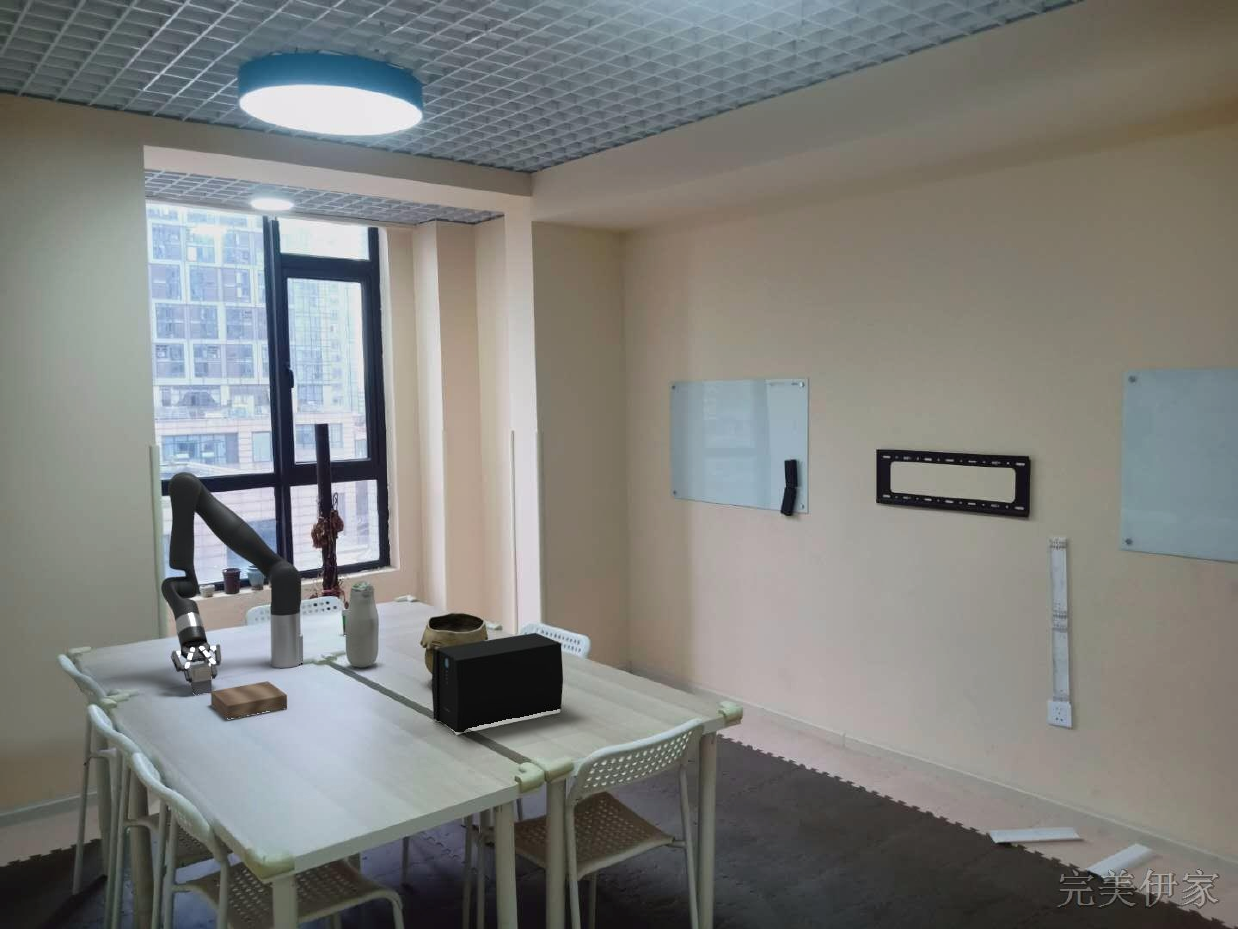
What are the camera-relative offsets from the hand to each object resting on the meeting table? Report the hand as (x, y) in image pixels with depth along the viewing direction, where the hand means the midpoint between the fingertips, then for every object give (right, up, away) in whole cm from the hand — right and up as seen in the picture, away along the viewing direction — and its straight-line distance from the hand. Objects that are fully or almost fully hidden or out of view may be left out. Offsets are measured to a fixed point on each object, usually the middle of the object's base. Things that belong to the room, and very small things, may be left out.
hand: (202, 679), depth 280 cm
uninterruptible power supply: (+90, -7, -17) cm, 92 cm away
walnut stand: (+18, -5, -11) cm, 22 cm away
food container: (+26, 0, +72) cm, 77 cm away
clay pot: (+72, -4, +14) cm, 74 cm away
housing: (-1, -4, +2) cm, 5 cm away
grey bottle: (+39, -3, +30) cm, 49 cm away
